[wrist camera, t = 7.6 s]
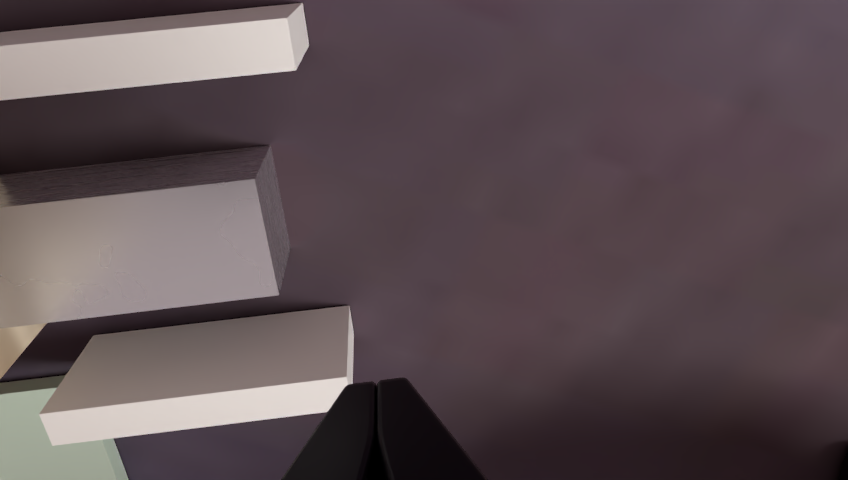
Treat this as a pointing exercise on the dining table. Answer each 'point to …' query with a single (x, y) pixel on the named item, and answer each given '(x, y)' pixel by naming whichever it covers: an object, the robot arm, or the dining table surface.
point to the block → (15, 343)
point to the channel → (201, 342)
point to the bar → (140, 236)
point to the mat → (47, 440)
